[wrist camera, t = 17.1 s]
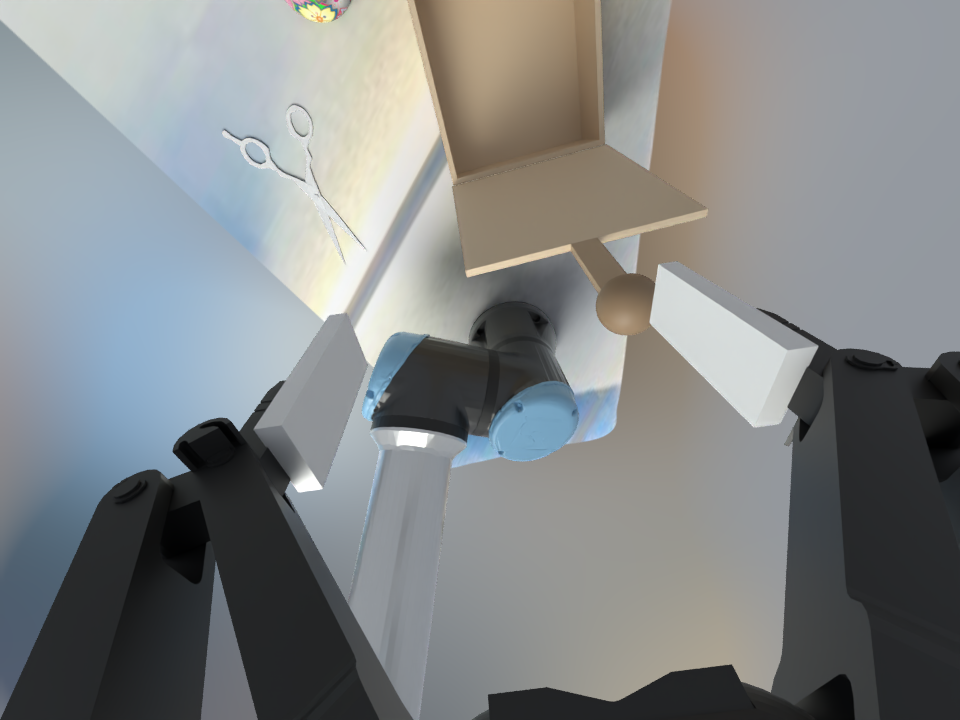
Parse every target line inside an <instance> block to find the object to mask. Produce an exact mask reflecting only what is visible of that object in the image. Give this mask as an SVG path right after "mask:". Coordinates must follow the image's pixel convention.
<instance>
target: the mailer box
mask: <svg viewBox="0 0 960 720" xmlns="http://www.w3.org/2000/svg"><path fill="white" fill-rule="evenodd" d="M407 1H408V5H409V9H410V13H411V17H412V21H413V25H414V29H415V33H416V37H417V41H418V45H419V49H420V53H421V57H422V61H423V65H424V69H425V73H426V77H427V81H428V85H429V89H430V93H431V97H432V101H433V105H434V109H435V113H436V117H437V121H438V125H439V129H440V133H441V137H442V141H443V145H444V149H445V153H446V157H447V161H448V165H449V169H450V173H451V177H452V181H453V185H458V184H461V183H465V182H469V181H472V180H476V179H480V178H483V177H487V176H491V175H494V174H498V173H502V172H505V171H509V170H513V169H516V168H520V167H524V166H527V165H531V164H535V163H538V162H542V161H545V160H549V159H553V158H556V157H560V156H564V155H567V154H571V153H575V152H578V151H582V150H586V149H589V148H593V147H597V146H600V145H604V144H605V130H604V94H603V58H602V23H601V0H407Z"/></svg>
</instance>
